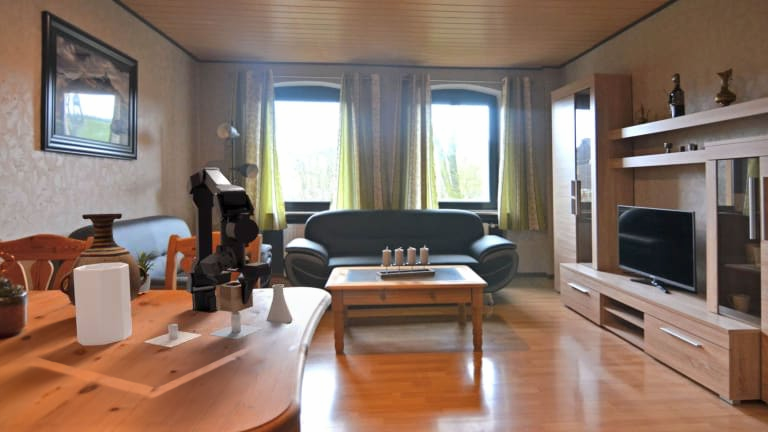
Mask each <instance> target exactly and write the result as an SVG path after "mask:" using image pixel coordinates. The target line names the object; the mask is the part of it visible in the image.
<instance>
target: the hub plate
mask: <svg viewBox="0 0 768 432" xmlns="http://www.w3.org/2000/svg"><path fill="white" fill-rule="evenodd" d="M241 322H242V320H241V313H240V311H239V312H236V313H235V312H231V315H230V324H231V325H230V326H227V327H224V328H222V329H219V330H216V331H214V332H211V333H208V335H209V336H214V337H215V336H216V337H221V338H228V339H231V340H232V339H233V340H239V339H241V338H243V337H246V336H248V335H250V334H253V333H255V332H258V331H260V330H262V329H264V328H263V327H257V326H251V325H250V326H249V325H244V324H241Z"/></svg>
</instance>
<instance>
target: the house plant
mask: <svg viewBox="0 0 768 432" xmlns="http://www.w3.org/2000/svg"><path fill="white" fill-rule="evenodd" d="M156 251H158V249H155V250H152V251H151V252H150V253H147V251H145V252H144V250H142V251H141V252H140V254H139V252H138V251H137V249H134V252H135V253H136V255H137V260H138V261H137V264H138V265H139V266H141V267H142V268H144V269H145V270H146V272H147V280H146V282H145V284H143V285H142V286H141V287H140V290H139V292H145V291H149V292H150V287H151V280H152V279H151V278H152V277H151V276H152V274H151V273H148V271H149V270H150V269H151V270H152V271H154V269H153V268H156V265H154V264H155V263H156V261H154V262H152V263H151V261H152V260H153V258H154V257H155V256H157V255H158V256H159V254H160V251H158V252H156ZM157 253H158V254H157ZM152 255H153V256H152ZM134 259H135V257H134ZM135 260H136V259H135ZM151 267H153V268H151ZM139 271H140V279H141V280H143V278H144V274H143V272H142V271H141V270H139Z"/></svg>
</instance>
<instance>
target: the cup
mask: <svg viewBox="0 0 768 432" xmlns="http://www.w3.org/2000/svg"><path fill="white" fill-rule="evenodd" d="M73 272H74V289H75V306H74V307H75V321H76V335H77V336H76V337H77V338H76V339H77V343H79V344H81V345H82V346H104V345H108V344H111V343H117V342H121V341H124V340H126V339H127V338H129V337H130V336H131V335H133V326H132V325H133V323H132V307H131V302H132V301H130V282H129V265H128V264H125V263H100V264H92V265H84V266H81V267H77V268H75V269H73Z"/></svg>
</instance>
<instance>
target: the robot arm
mask: <svg viewBox="0 0 768 432" xmlns="http://www.w3.org/2000/svg"><path fill="white" fill-rule="evenodd" d="M186 192H187V195H188V199H189V201H190V202H191V204H192V205H193V207H194V211H195V213H194V214H195V253H196V254H195V258H194V260H193V261H192V263H191V265H190V270H189V271H190V272H189V273H188V275H187V279H186V280H187V281H186V286H185V287H186V292H188V293H189V294H191V295H192V296H191V297H192V298H191V299H192V301H191V302H192V309H190V311H196V312H202V313H212V312H214V311H215V312H216V311H218V310H217V302H216V285H220V284H224V283H227V282H231V281H232V273H241V274H242V276H241V277H237V278H236V279H237V280H236V281H239V282H240V283H241V292H242V302H243V304H247V302H248V300H249V298H250V295H251V293H252V291H253V290H254V289H255V286H256V284H257V283H258V281H259V279H260V278H263V277H266V276H269V275H270V276H271V275H272V268H271V267H272V266H271V265H270V264H269V263H268V262H261V261H259V262H258V261H256V262H252V263H250V259H248V258H247V257H246V248H249V247H250V244H251V243H253V242H254V241H255V240H256V239H257V238H258V236H259V233H260V228H259V226H258V223H256V221H255V220H254V219H251V217H254V216H255V213H254V210H255V208H254V205H253V203H252V201H251V198H250V197H249V194H248V192H247V191H246V189H245V188H243V187H241V186H239V185H235V184H231V182H230V181H229V180H228V179H227V178H226V177H225V176H224V175H223V174H222V170H221V168H218V167H202V168H200V169H199V171H198V172H196V173H194V174H192V175H191V176H189V178H188V180H187V183H186ZM213 208H214V209H215V211H216V213H217V215H218V218H219V235H220V237H219V238H220V239H219V240H220V241H219V243H220V244H219V243H218V244H216V247H215V252H214V249H213V248H214V246H213V243H214V241H213V237H214V236H213Z"/></svg>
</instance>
